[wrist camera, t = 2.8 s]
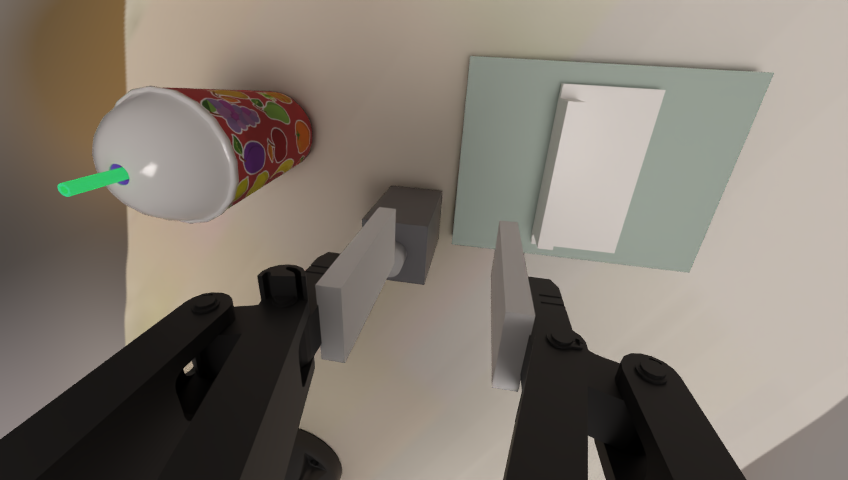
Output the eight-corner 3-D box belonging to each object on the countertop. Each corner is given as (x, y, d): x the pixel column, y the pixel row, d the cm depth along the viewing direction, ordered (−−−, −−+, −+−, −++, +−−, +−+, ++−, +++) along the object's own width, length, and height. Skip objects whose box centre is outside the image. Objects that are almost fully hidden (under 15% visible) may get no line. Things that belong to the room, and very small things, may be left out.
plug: (390, 232, 37) (355, 289, 27) (391, 185, 35) (353, 229, 25) (438, 238, 37) (419, 298, 27) (442, 190, 35) (423, 237, 25)
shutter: (530, 239, 33) (535, 259, 29) (561, 83, 27) (571, 84, 24) (611, 249, 32) (626, 270, 28) (660, 89, 26) (686, 92, 23)
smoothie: (228, 129, 35) (-38, 186, 18) (272, 60, 32) (-2, 44, 14) (295, 188, 37) (112, 298, 19) (343, 129, 34) (177, 193, 16)
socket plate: (453, 235, 36) (451, 244, 34) (471, 56, 29) (470, 55, 28) (678, 261, 34) (689, 272, 32) (755, 72, 27) (774, 72, 25)
